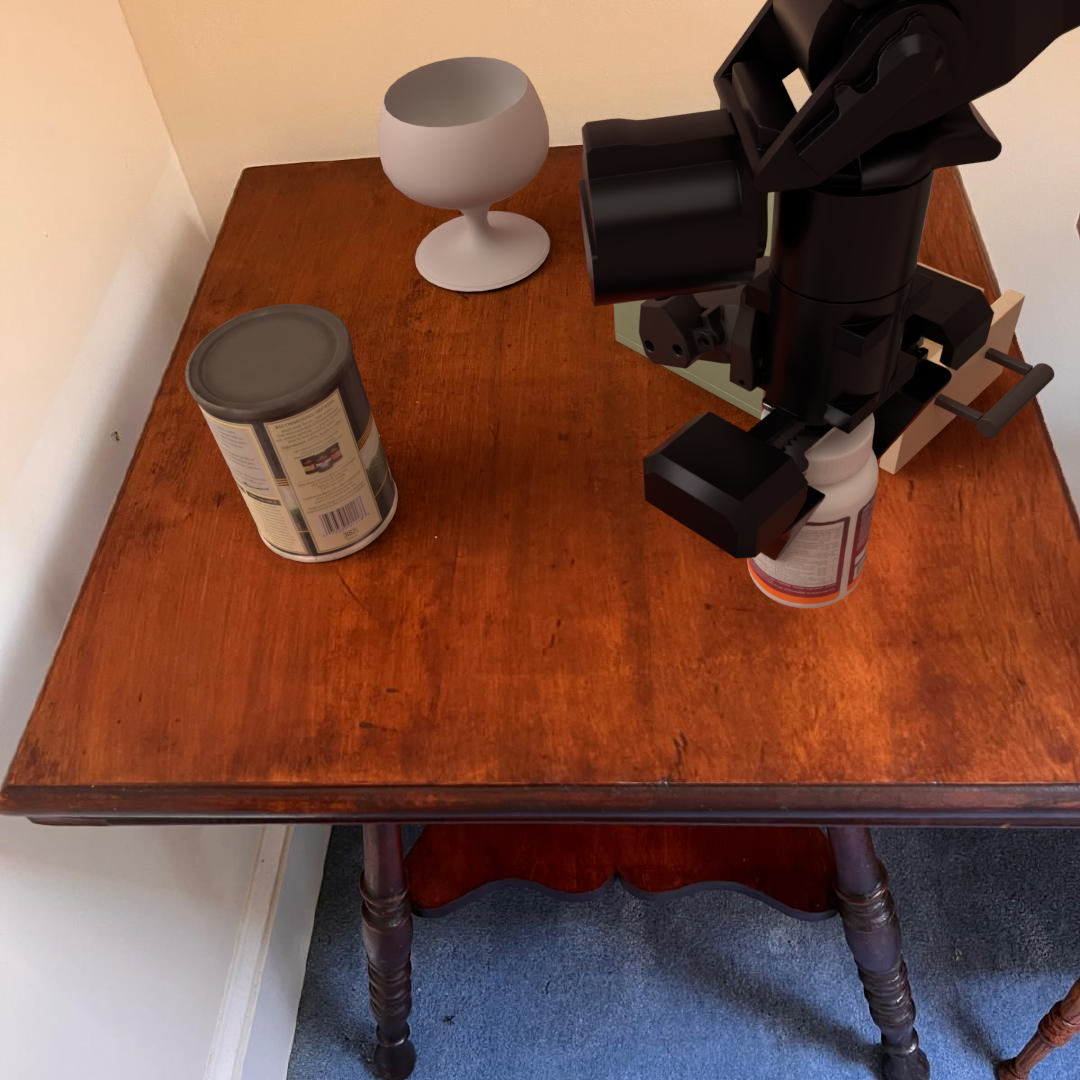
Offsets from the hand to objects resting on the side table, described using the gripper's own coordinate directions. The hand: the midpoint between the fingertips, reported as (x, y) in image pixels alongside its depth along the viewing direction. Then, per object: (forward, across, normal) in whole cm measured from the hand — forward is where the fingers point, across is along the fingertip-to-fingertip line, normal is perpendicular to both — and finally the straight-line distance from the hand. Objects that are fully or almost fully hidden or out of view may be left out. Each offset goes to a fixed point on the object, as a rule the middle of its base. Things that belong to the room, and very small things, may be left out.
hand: (807, 518), depth 53 cm
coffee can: (+12, +12, -31) cm, 36 cm away
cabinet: (+12, -22, -21) cm, 32 cm away
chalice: (+12, -16, -46) cm, 50 cm away
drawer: (+11, -22, -7) cm, 26 cm away
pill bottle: (+4, 0, 0) cm, 4 cm away
